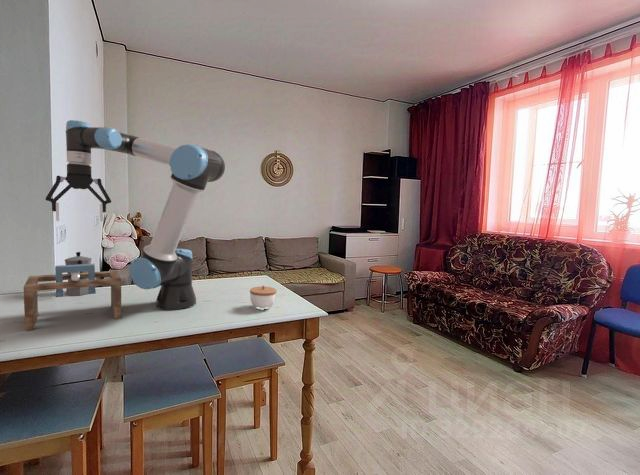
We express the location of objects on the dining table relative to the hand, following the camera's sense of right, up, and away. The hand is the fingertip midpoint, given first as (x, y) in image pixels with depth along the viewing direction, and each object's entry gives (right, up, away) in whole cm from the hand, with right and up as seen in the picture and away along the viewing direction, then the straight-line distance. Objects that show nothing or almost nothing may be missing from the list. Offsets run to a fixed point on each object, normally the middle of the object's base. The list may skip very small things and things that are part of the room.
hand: (80, 220), depth 130 cm
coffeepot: (-12, -31, +17) cm, 37 cm away
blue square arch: (+6, -26, -11) cm, 29 cm away
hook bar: (+6, -20, -11) cm, 24 cm away
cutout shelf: (+6, -34, -10) cm, 36 cm away
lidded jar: (+67, -36, +12) cm, 77 cm away
